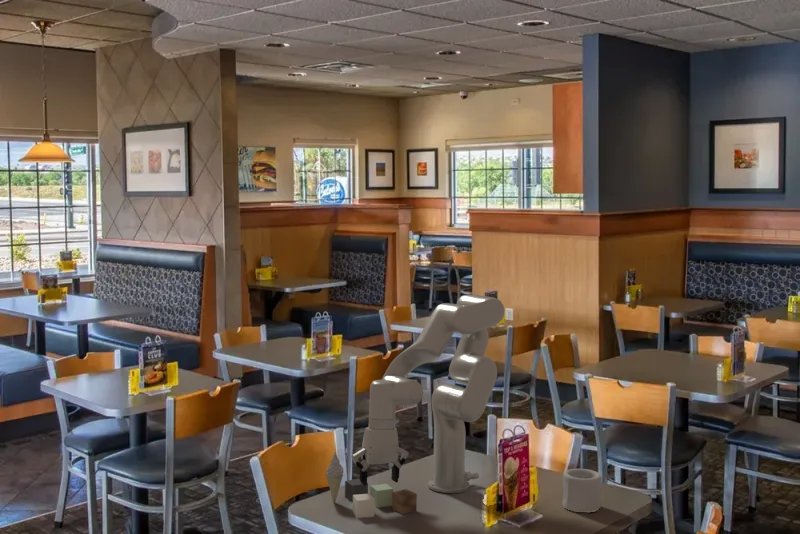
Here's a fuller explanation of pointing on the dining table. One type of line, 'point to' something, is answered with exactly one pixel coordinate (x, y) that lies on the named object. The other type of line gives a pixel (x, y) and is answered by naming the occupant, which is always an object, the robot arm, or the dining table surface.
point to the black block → (354, 488)
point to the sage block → (381, 495)
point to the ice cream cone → (334, 476)
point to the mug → (581, 490)
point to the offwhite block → (363, 505)
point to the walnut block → (404, 501)
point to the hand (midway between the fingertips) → (379, 482)
